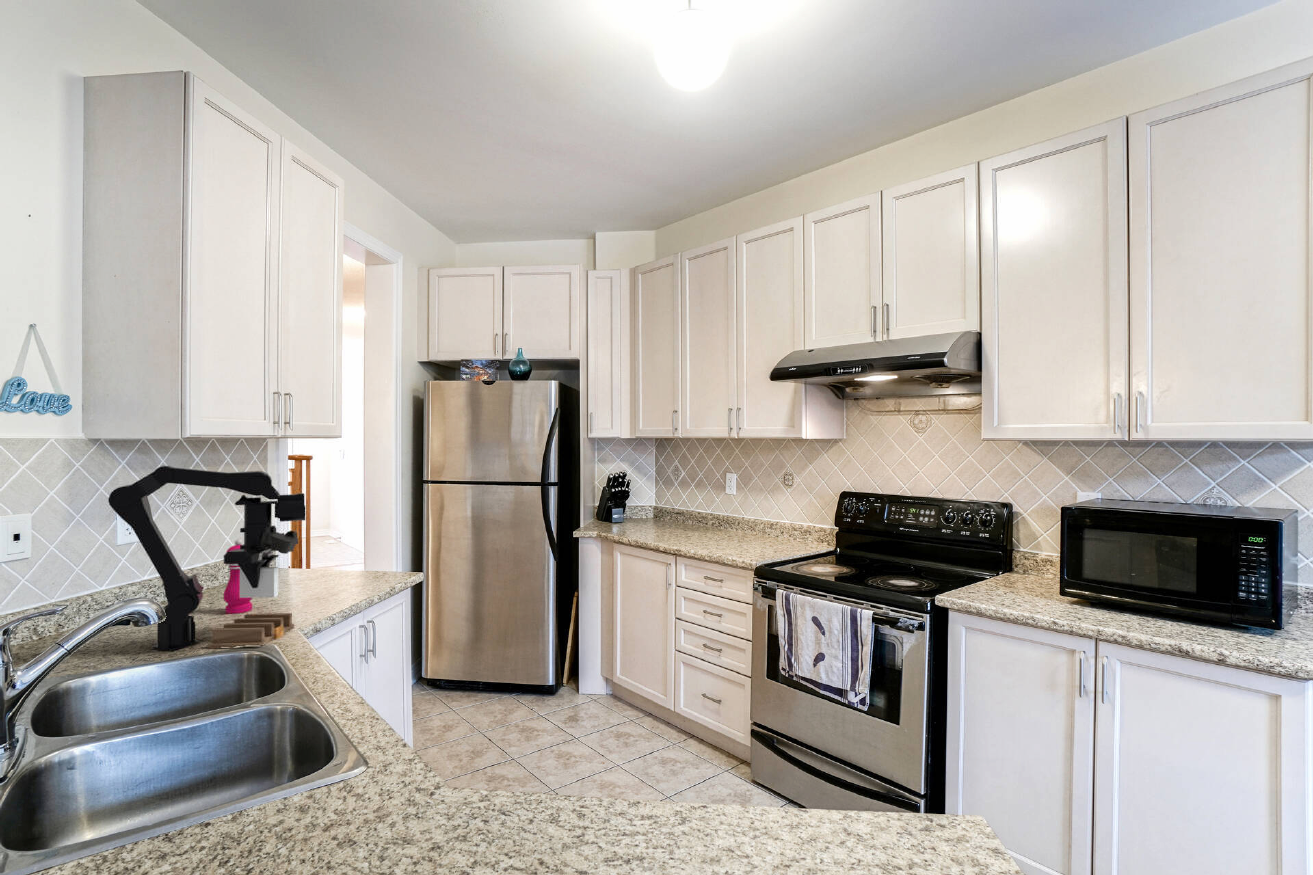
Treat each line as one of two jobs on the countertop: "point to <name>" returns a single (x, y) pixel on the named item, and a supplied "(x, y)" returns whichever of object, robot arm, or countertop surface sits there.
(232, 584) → the pepper mill
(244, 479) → the robot arm
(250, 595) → the panel
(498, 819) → the countertop surface
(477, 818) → the countertop surface
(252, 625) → the rack
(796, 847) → the countertop surface
